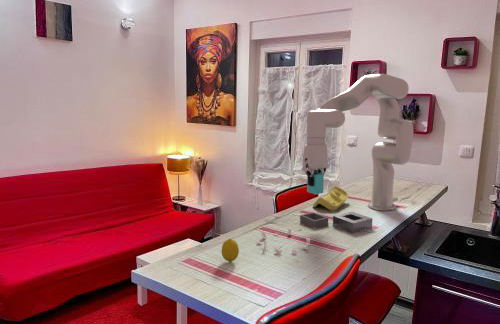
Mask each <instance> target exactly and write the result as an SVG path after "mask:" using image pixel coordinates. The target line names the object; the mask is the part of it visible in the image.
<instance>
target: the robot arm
mask: <svg viewBox="0 0 500 324" xmlns="http://www.w3.org/2000/svg"><path fill="white" fill-rule="evenodd" d="M409 88H410V87H409V84H408V82H407V81H406V80H405V79H403V78H400V77H397V76H394V75H390V74H386V73H376V74H375V73H373V74H366V75H364V76H362V77H360V78H359V79H358V80H357V81H356V82H355V83H354V84H353V85H351V86H350V87H349V88H348V89H346V91H344V92H342V93H340V94H338V95H336V96H334V97H332V98H330V99H328V100H325V102H323V103H322V104H320V105H319V107H318V108H316V109H315V110H309V111H307V113H306V114H307V115H306V144H304V149H303V154H302V168H301V171H302V172H303V173H305V175H306V177H307V176H308V185H309V186H314V177H313V174H314V170H318V173H321V174H324V175H325V173H326V171H327V169H329V167H330V165H329V163H328V157H329V156H328V147H327V144H326V141H327V137H326V135H327V134H326V133H327V128H329V129H337V128H340V127H341V126H343V124H344V123H345V121H346V116H345V114H344V113H343V112H346V111H351V110H355V109H357V108H359V107H360V106H361V105H363V103H365V101H367V100H368V99H369V98H370V97H371V96H373V97H374V98H375V99H376V101H377V103H378V105H379V117H378V126H377V134H378V136H379V138H380V139H385V140H391V141H396V142H390V141H379V142H377V143H375V144H374V145H373V146H372V149H371V157H372V184H371V201H370V202H368V203H367V207H369V208H370V209H372V210H376V211H387V212H388V211H389V212H390V211H394V210H396V209H397V208H396V205H395V204H394V203H395V202H398V200H399V198H398V197H397V196H396V197H394V182H395V168H394V166H393V165H400V166H404V165H405V164H407V163H408V162H409V161H410V158H411V153H412V147H413V139H414V126H413V124H412V122H411V121H409V120H408V119H402V118H401V119H400V110H401V109H400V104H399V102H398V101H397V100H401V99H404V98H405V97H407V95H408V93H409Z"/></svg>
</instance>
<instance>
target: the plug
mask: <svg viewBox="0 0 500 324" xmlns="http://www.w3.org/2000/svg"><path fill="white" fill-rule="evenodd" d="M324 176H325V173H324V174H321V173H318V170H317V169H314V174H313V177H314V186H309V185H308V176H307V175H306V177H307V178H306V185H307V186H306V188H307V189H306V192H307V193H309V194H313V195H321V194H324Z"/></svg>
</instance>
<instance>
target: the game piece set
mask: <svg viewBox="0 0 500 324" xmlns="http://www.w3.org/2000/svg"><path fill="white" fill-rule="evenodd" d="M278 234H279V231H277V232H276V233H274V234H273V236H278ZM287 234H288V236H291V234H292V229H291V227H289V228H288V229H287ZM260 235H261V236H262V238H261V239H260V241H259V240H257V241H256V245H260V244H264V245H263V247H261V248H262V249H263V250H262V251H264V250H266V249H267V251H269V247H268V246H267V243H268V242H267V241H266V240H265V239H266V238H267V237H268V236H267V233H266V231H264V230H261V232H260ZM299 237H300V239H301V240H303V239H304V236H303V234H301V235H300V236H299ZM263 239H264V241H263V243H262V240H263ZM305 239H306V242H305V243H306V244H305V245H302V246H301V249H302V250H305V251H306V250H307V249H308V248H309V246H310V245H311V243H310V242H311V238H310V237H306V238H305ZM282 248H283V245H281V246H280V247H278V248H276V247H274V252H275V253H277V254H281V253H282V252H283V249H282ZM291 254H292V255H297V254H298V251H297V248H296V247H293V248H292V249H291Z"/></svg>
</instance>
